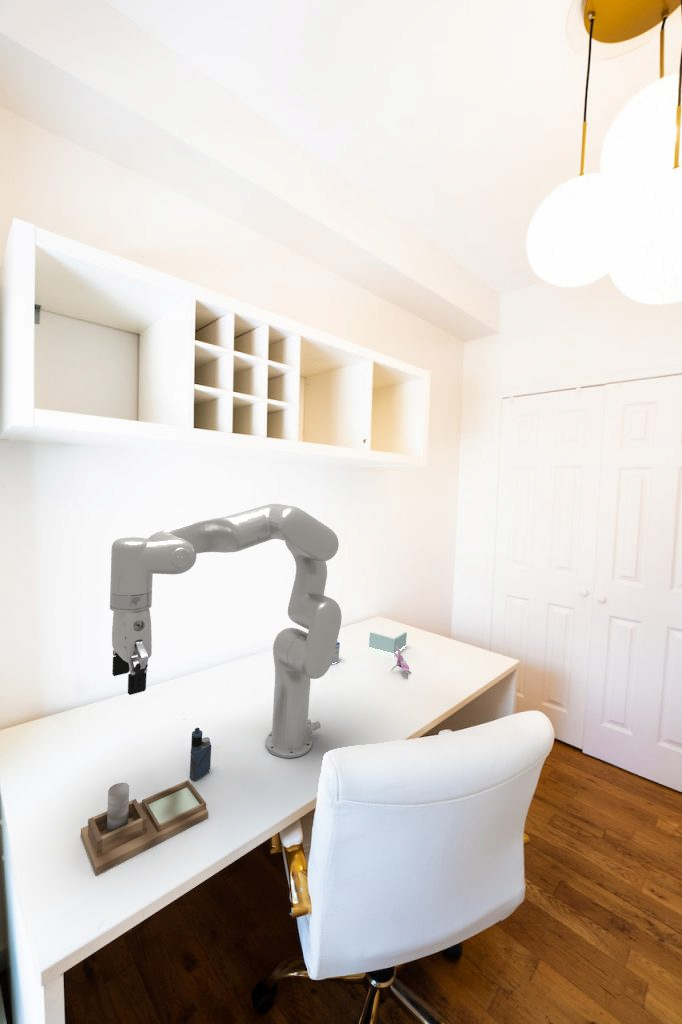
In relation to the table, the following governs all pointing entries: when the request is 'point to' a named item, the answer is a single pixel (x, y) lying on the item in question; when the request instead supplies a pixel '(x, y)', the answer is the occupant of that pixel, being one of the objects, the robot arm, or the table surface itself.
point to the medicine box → (336, 653)
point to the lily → (401, 662)
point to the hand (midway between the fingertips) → (128, 682)
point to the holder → (139, 823)
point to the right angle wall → (387, 642)
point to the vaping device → (199, 755)
